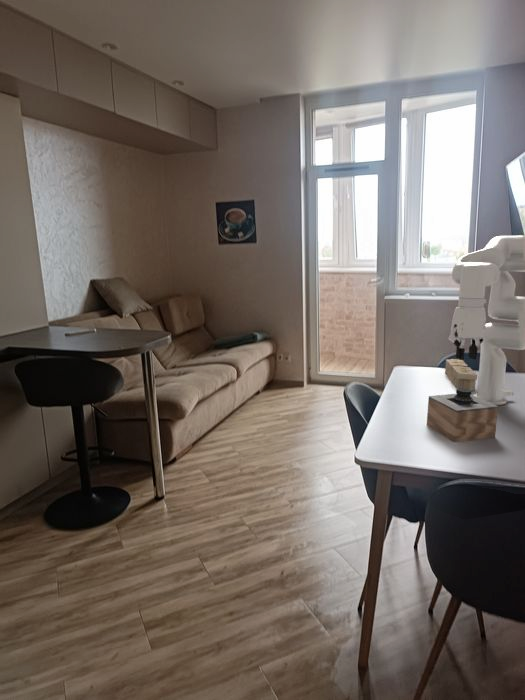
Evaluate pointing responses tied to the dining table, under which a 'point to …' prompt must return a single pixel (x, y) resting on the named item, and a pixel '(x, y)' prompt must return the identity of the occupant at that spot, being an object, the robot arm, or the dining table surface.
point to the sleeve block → (462, 418)
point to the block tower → (460, 374)
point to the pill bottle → (463, 397)
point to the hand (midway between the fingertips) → (466, 358)
